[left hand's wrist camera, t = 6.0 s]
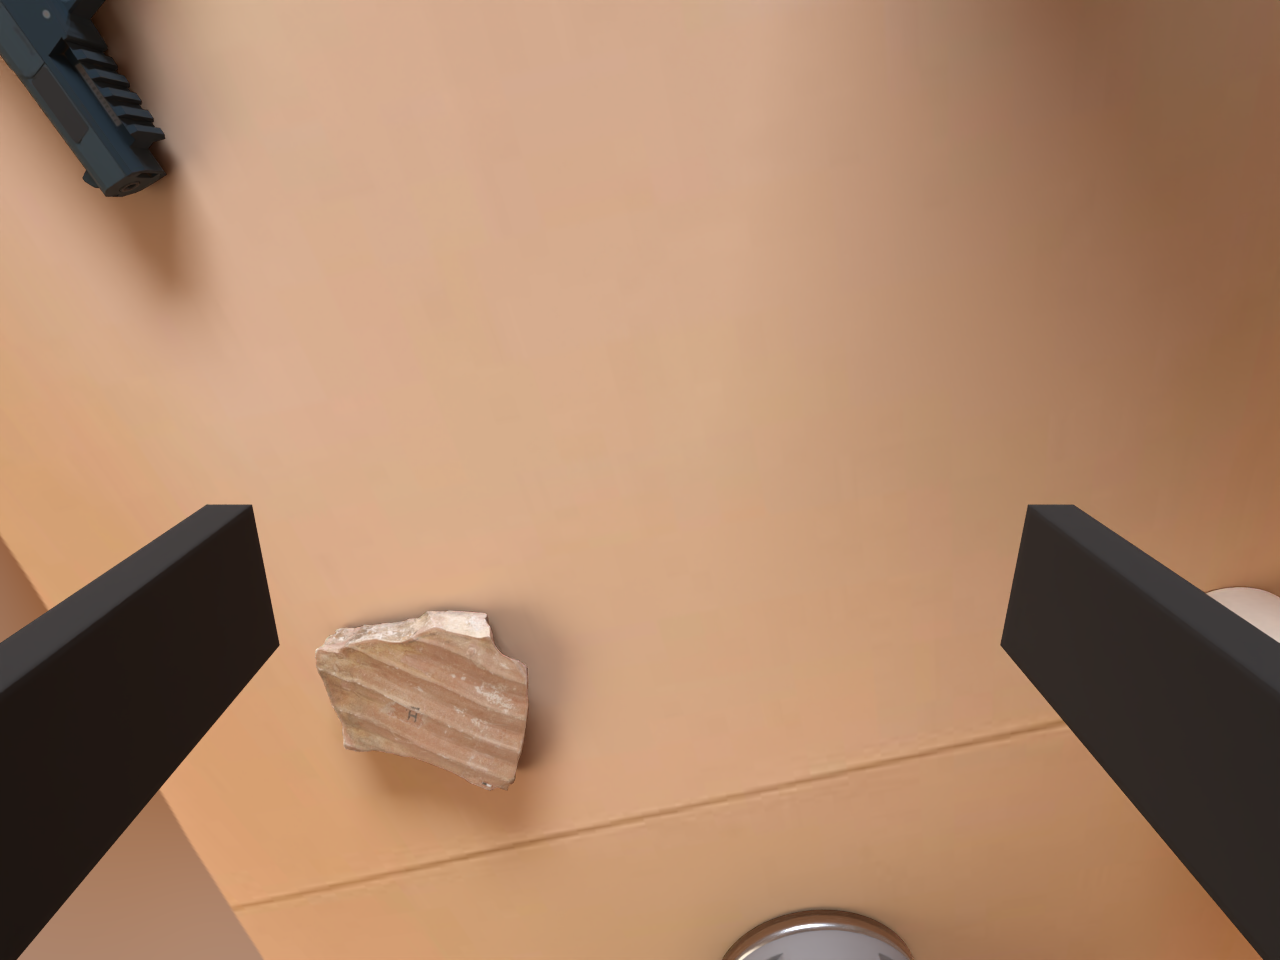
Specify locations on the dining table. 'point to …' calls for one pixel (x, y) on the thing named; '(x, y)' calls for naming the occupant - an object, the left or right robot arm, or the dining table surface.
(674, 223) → the dining table surface
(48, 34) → the handgun
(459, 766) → the stone
